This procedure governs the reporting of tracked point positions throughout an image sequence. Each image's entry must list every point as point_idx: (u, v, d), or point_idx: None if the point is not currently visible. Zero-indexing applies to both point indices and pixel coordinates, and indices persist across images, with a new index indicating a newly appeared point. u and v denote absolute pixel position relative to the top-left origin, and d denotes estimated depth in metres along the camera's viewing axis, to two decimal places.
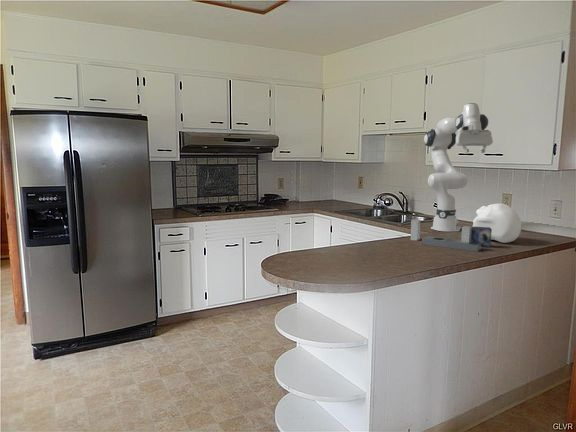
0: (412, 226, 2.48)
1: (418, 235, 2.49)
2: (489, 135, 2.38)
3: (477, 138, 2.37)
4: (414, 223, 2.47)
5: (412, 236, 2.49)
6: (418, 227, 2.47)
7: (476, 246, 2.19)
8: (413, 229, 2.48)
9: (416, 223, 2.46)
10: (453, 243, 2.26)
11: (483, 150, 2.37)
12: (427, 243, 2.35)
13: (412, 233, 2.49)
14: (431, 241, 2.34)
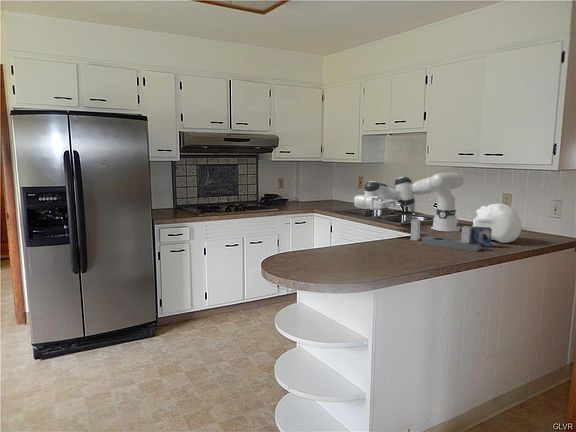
0: (412, 226, 2.48)
1: (418, 235, 2.49)
2: None
3: (386, 200, 2.60)
4: (414, 223, 2.47)
5: (412, 236, 2.49)
6: (418, 227, 2.47)
7: (476, 246, 2.19)
8: (413, 229, 2.48)
9: (416, 223, 2.46)
10: (453, 243, 2.26)
11: (398, 202, 2.59)
12: (427, 243, 2.35)
13: (412, 233, 2.49)
14: (431, 241, 2.34)
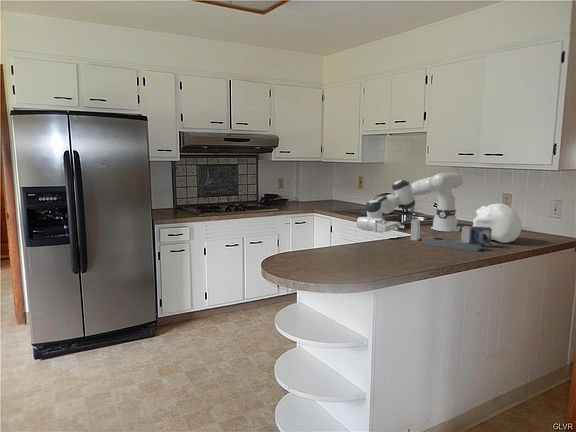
0: (412, 226, 2.48)
1: (418, 235, 2.49)
2: (392, 221, 2.67)
3: (389, 223, 2.60)
4: (414, 223, 2.47)
5: (412, 236, 2.49)
6: (418, 227, 2.47)
7: (476, 246, 2.19)
8: (413, 229, 2.48)
9: (416, 223, 2.46)
10: (453, 243, 2.26)
11: (402, 225, 2.59)
12: (427, 243, 2.35)
13: (412, 233, 2.49)
14: (431, 241, 2.34)
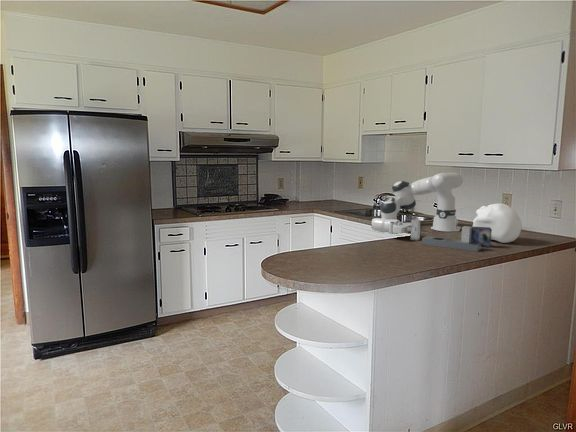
0: (412, 226, 2.48)
1: (418, 235, 2.49)
2: None
3: (405, 224, 2.54)
4: (414, 223, 2.47)
5: (412, 236, 2.49)
6: (418, 227, 2.47)
7: (476, 246, 2.19)
8: None
9: (416, 223, 2.46)
10: (453, 243, 2.26)
11: None
12: (427, 243, 2.35)
13: (412, 233, 2.49)
14: (431, 241, 2.34)
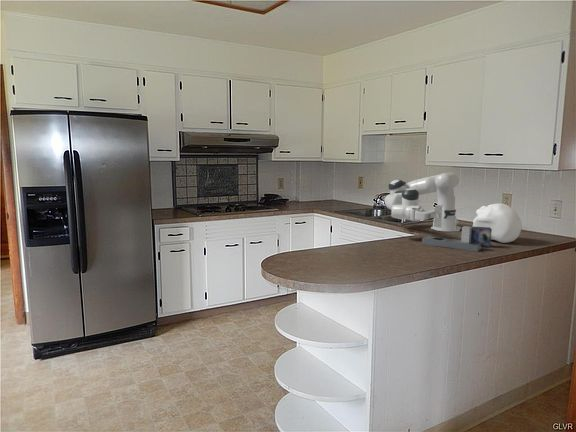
0: (436, 212, 2.32)
1: (442, 221, 2.33)
2: (429, 209, 2.45)
3: None
4: (438, 208, 2.31)
5: (436, 223, 2.33)
6: (442, 213, 2.31)
7: (476, 246, 2.19)
8: None
9: (441, 209, 2.30)
10: (453, 243, 2.26)
11: None
12: (427, 243, 2.35)
13: (436, 220, 2.33)
14: (431, 241, 2.34)
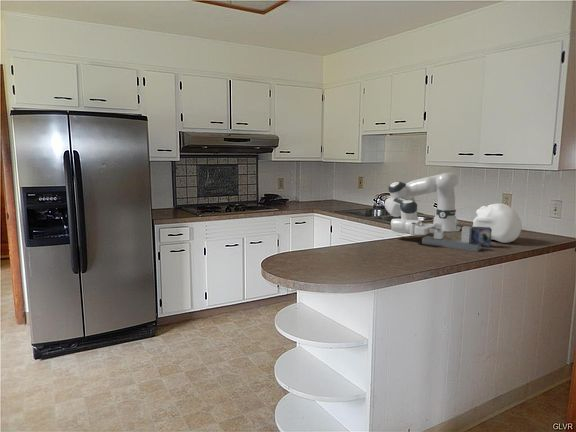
0: None
1: None
2: (429, 223, 2.46)
3: (427, 225, 2.39)
4: (437, 227, 2.33)
5: None
6: (442, 231, 2.33)
7: (476, 246, 2.19)
8: (437, 233, 2.33)
9: (440, 227, 2.32)
10: (453, 243, 2.26)
11: None
12: (427, 243, 2.35)
13: (435, 238, 2.34)
14: (431, 241, 2.34)
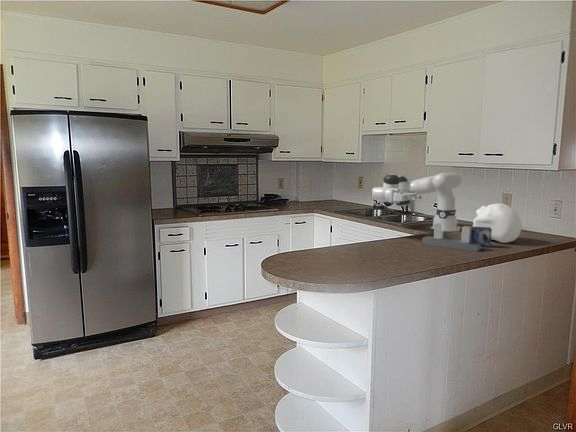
0: (435, 230, 2.33)
1: None
2: None
3: (406, 193, 2.45)
4: (437, 227, 2.33)
5: None
6: (441, 232, 2.33)
7: (476, 246, 2.19)
8: (436, 233, 2.33)
9: (440, 227, 2.32)
10: (453, 243, 2.26)
11: (420, 196, 2.44)
12: (427, 243, 2.35)
13: (435, 238, 2.34)
14: (431, 241, 2.34)
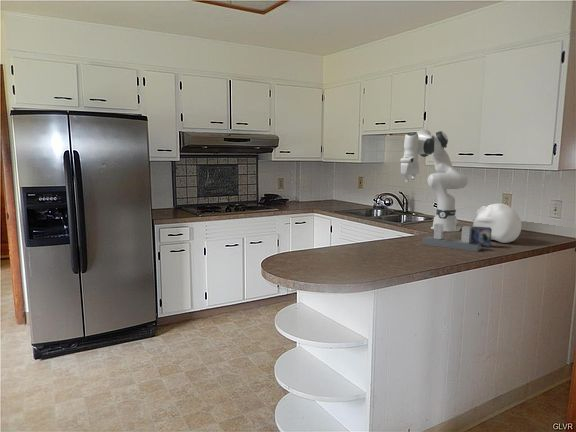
0: (435, 230, 2.33)
1: None
2: (418, 165, 2.62)
3: (413, 169, 2.57)
4: (437, 227, 2.33)
5: None
6: (441, 232, 2.33)
7: (476, 246, 2.19)
8: (436, 233, 2.33)
9: (440, 227, 2.32)
10: (453, 243, 2.26)
11: (414, 179, 2.61)
12: (427, 243, 2.35)
13: (435, 238, 2.34)
14: (431, 241, 2.34)
